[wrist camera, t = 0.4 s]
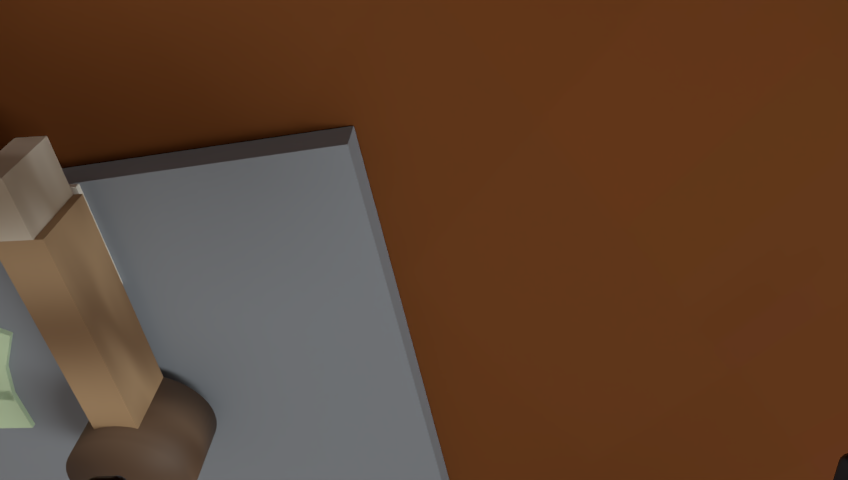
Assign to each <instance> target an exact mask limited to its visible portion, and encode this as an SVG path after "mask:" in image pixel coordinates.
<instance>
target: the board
mask: <svg viewBox="0 0 848 480" xmlns="http://www.w3.org/2000/svg"><path fill="white" fill-rule="evenodd" d="M62 170H63V172H64V175H65V177H66V179H67V181H68V184H69V186H70V188H71V190H72V192H73V194H83V196H84V198H85V200H86V203H87V205H88V207H89V209H90V212H91V214H92V216H93V219H94V221H95V223H96V225H97V228H98V230H99V232H100V234H101V237H102V239H103V241H104V243H105V246H106V248H107V250H108V253H109V255H110V257H111V259H112V262H113V264H114V266H115V268H116V271H117V273H118V275H119V277H120V280H121V282H122V284H123V287H124V289H125V291H126V293H127V296H128V298H129V300H130V302H131V305H132V307H133V309H134V311H135V314H136V316H137V318H138V321H139V323H140V325H141V327H142V330H143V332H144V334H145V336H146V339H147V341H148V343H149V345H150V348H151V350H152V352H153V355H154V357H155V359H156V361H157V364H158V366H159V368H160V370H161V373H162V375H163V377H165V378H168V379H172V380H175V381H177V382H180V383H182V384H184V385H186V386H188V387H189V388H191V389H193V390H194V391H196V392H197V393H198V394H200V395H201V396H202V397H203V398H204V399H205V400H206V401H207V402H208V403H209V405H210V406H211V408H212V409H213V411H214V413H215V416H216V420H217V428H216V432H215V434H214V437H213V440H212V442H211V445H210V448H209V450H208V453H207V456H206V458H205V461H204V464H203V466H202V469H201V471H200V474H199V477H198V479H197V480H449V477H448V474H447V470H446V466H445V463H444V459H443V455H442V451H441V448H440V444H439V440H438V437H437V433H436V429H435V425H434V422H433V418H432V414H431V411H430V407H429V403H428V400H427V396H426V392H425V388H424V385H423V381H422V377H421V374H420V370H419V366H418V362H417V359H416V355H415V351H414V348H413V344H412V340H411V337H410V333H409V329H408V325H407V322H406V318H405V314H404V311H403V307H402V303H401V299H400V296H399V292H398V288H397V285H396V281H395V277H394V274H393V270H392V266H391V262H390V259H389V255H388V251H387V248H386V244H385V240H384V237H383V233H382V229H381V225H380V222H379V218H378V214H377V211H376V207H375V203H374V199H373V196H372V192H371V188H370V185H369V181H368V177H367V174H366V170H365V166H364V162H363V159H362V155H361V151H360V148H359V144H358V140H357V136H356V133H355V129H354V126H349V127H342V128H335V129H328V130H321V131H315V132H308V133H301V134H294V135H287V136H280V137H274V138H267V139H260V140H253V141H246V142H239V143H233V144H226V145H219V146H212V147H205V148H198V149H192V150H185V151H178V152H171V153H164V154H157V155H151V156H144V157H137V158H130V159H123V160H116V161H110V162H103V163H96V164H89V165H82V166H75V167H69V168H62ZM88 421H89V420H88V418H87V416H86V414H85V412H84V411H83V409H82V407H81V405H80V403H79V402H78V400H77V398H76V396H75V394H74V393H73V391H72V389H71V387H70V385H69V384H68V382H67V380H66V378H65V376H64V375H63V373H62V371H61V369H60V367H59V366H58V364H57V362H56V360H55V358H54V356H53V355H52V353H51V351H50V349H49V347H48V346H47V344H46V342H45V340H44V338H43V337H42V335H41V333H40V331H39V329H38V328H37V326H36V324H35V322H34V320H33V319H32V317H31V315H30V313H29V311H28V310H27V308H26V306H25V304H24V302H23V301H22V299H21V297H20V295H19V293H18V292H17V290H16V288H15V286H14V284H13V283H12V281H11V279H10V277H9V275H8V273H7V272H6V270H5V268H4V266H3V264H2V263H1V261H0V480H70V479H69V478H68V475H67V472H66V462H67V459H68V457H69V455H70V453H71V451H72V450H73V448H74V446H75V444H76V443H77V441H78V439H79V437H80V435H81V434H82V432H83V430H84V428H85V427H86V425H87V423H88Z"/></svg>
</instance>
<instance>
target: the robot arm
mask: <svg viewBox="0 0 848 480" xmlns="http://www.w3.org/2000/svg"><path fill="white" fill-rule="evenodd" d="M89 480H126V479H125V478H124V477H122V476H119V475H113V476H96V477H92V478H90V479H89ZM833 480H848V453H847V454H844V455H843V456H842V457H841V458H840V460H839V463H838V466H837V469H836V473H835V476H834V479H833Z"/></svg>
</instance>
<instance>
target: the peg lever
mask: <svg viewBox="0 0 848 480" xmlns="http://www.w3.org/2000/svg"><path fill="white" fill-rule="evenodd" d="M0 261H1V263H2V264H3V266H4V268H5V270H6V272H7V273H8V275H9V277H10V279H11V281H12V283H13V284H14V286H15V288H16V290H17V292H18V293H19V295H20V297H21V299H22V301H23V302H24V304H25V306H26V308H27V310H28V311H29V313H30V315H31V317H32V319H33V320H34V322H35V324H36V326H37V328H38V329H39V331H40V333H41V335H42V337H43V338H44V340H45V342H46V344H47V346H48V347H49V349H50V351H51V353H52V355H53V356H54V358H55V360H56V362H57V364H58V366H59V367H60V369H61V371H62V373H63V375H64V376H65V378H66V380H67V382H68V384H69V385H70V387H71V389H72V391H73V393H74V394H75V396H76V398H77V400H78V402H79V403H80V405H81V407H82V409H83V411H84V412H85V414H86V416H87V418H88V420H89V421H88V423H87V425H86V427H85V428H84V430H83V432H82V434H81V435H80V437H79V439H78V441H77V443H76V444H75V446H74V448H73V450H72V451H71V453H70V455H69V457H68V459H67V462H66V472H67V475H68V478H69V479H70V480H89V479H90V478H92V477H96V476H113V475H119V476H122V477H124V478H125V479H126V480H197V479H198V477H199V474H200V471H201V469H202V466H203V464H204V461H205V458H206V456H207V453H208V450H209V448H210V445H211V442H212V440H213V437H214V434H215V432H216V428H217V420H216V416H215V413H214V411H213V409H212V408H211V406H210V405H209V403H208V402H207V401H206V400H205V399H204V398H203V397H202V396H201V395H200V394H198V393H197V392H196V391H194V390H193V389H191V388H189V387H188V386H186V385H184V384H182V383H180V382H177V381H175V380H172V379H168V378H165V377H163V375H162V373H161V370H160V368H159V366H158V364H157V361H156V359H155V357H154V355H153V352H152V350H151V348H150V345H149V343H148V341H147V339H146V336H145V334H144V332H143V330H142V327H141V325H140V323H139V321H138V318H137V316H136V314H135V311H134V309H133V307H132V305H131V302H130V300H129V298H128V296H127V293H126V291H125V289H124V287H123V284H122V282H121V280H120V277H119V275H118V273H117V271H116V268H115V266H114V264H113V262H112V259H111V257H110V255H109V253H108V250H107V248H106V246H105V243H104V241H103V239H102V237H101V234H100V232H99V230H98V228H97V225H96V223H95V221H94V219H93V216H92V214H91V212H90V209H89V207H88V205H87V203H86V200H85V198H84V196H83V194H73V192H72V190H71V188H70V186H69V184H68V181H67V179H66V177H65V175H64V172H63V170H62V168H61V166H60V164H59V161H58V159H57V157H56V155H55V152H54V150H53V148H52V146H51V144H50V141H49V139H48V137H47V136H35V137H20V138H14V139H13V140H12V141H11V142H10V143H8V144H7V145H6V146H5V147H4V148H3V149H1V150H0Z"/></svg>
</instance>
